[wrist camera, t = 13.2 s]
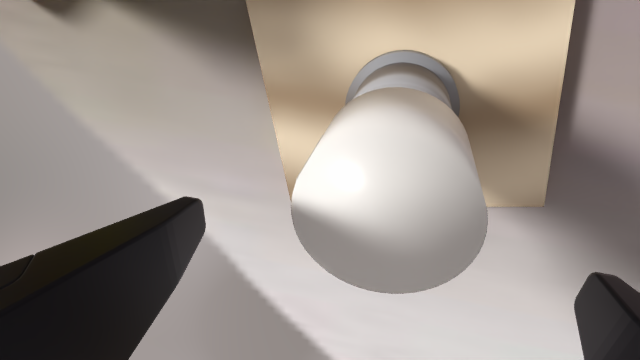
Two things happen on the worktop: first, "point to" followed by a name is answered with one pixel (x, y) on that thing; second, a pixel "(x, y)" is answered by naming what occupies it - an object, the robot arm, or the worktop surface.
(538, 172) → the beige square board
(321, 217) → the cap
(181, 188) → the worktop surface
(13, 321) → the robot arm
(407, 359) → the worktop surface
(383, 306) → the worktop surface
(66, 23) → the worktop surface
